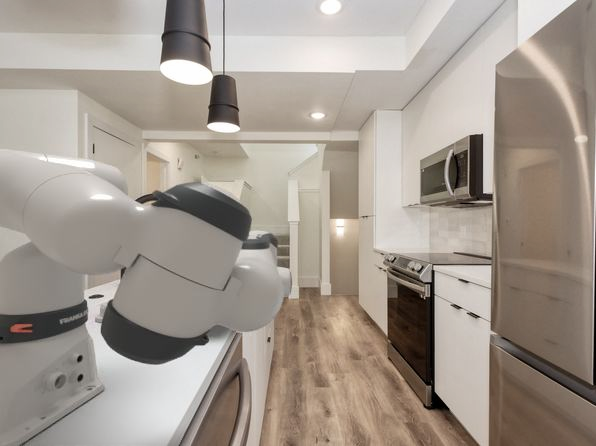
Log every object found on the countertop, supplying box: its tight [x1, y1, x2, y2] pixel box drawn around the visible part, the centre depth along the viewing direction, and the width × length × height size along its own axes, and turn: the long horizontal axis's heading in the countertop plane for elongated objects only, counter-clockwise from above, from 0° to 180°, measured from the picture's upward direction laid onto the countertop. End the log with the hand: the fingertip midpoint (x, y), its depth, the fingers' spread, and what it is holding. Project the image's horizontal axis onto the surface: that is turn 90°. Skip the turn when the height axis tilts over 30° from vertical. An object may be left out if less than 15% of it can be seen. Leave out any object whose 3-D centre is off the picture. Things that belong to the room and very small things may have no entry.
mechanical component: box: [94, 302, 108, 324], centre depth 93 cm, size 10×4×10 cm
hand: (179, 282), depth 86 cm, fingers closed on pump, 5 cm apart
